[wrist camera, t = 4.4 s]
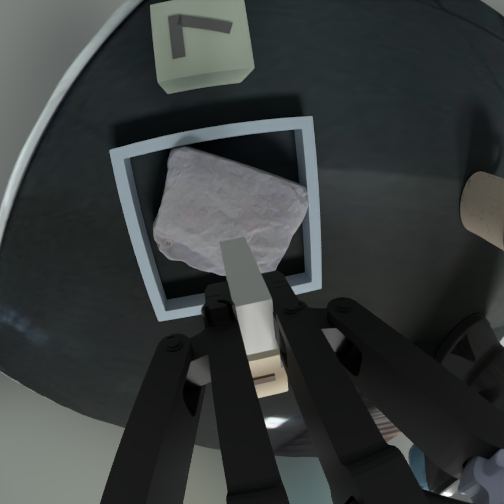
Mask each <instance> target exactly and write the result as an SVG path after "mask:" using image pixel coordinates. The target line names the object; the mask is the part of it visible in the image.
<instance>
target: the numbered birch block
mask: <svg viewBox="0 0 504 504" xmlns="http://www.w3.org/2000/svg"><path fill="white" fill-rule="evenodd" d="M247 358H248V362H249V366H250V369H251V373H252V377H253V381H254V385H255V388H256V392H257V396H258V398H260V397H265V396H269V395H273V394H278V393H282V392H286V391H288V382H287V374H286V371H285V369H284V367H283V368H281V361H280V350H279V346H278V344H277V349H273V350H268V351H264V352H260V353H255V354H250V355H247Z"/></svg>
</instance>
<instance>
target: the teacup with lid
mask: <svg viewBox="0 0 504 504" xmlns="http://www.w3.org/2000/svg"><path fill="white" fill-rule="evenodd" d="M460 217H461V221H462V223H463V225H464V227H465V228H466V229H467V230H469V231H470V232H472V233H474V234H476V235H478V236H479V237H481V238H483V239H485V240H487V241H488V242H490V243H492V244H493V245H495V246H497V247H498V248H500V249H502V250H503V251H504V179H503V178H500V177H497V176H495V175H492V174H489V173H486V172H482V171H479V172H476V173H474V174H473V175H472V176H471V177H470V178H469V179H468V181H467V183H466V185H465V187H464V189H463V192H462V196H461V202H460Z"/></svg>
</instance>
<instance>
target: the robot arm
mask: <svg viewBox="0 0 504 504" xmlns="http://www.w3.org/2000/svg"><path fill="white" fill-rule="evenodd" d="M220 248H221V253H222V258H223V263H224V269H225V274H226V279H227V281H225V282H220V283H214V284H209V285H208V286H207V287H206V289H205V291H204V292H205V304H204V305H203V306H202V309H201V313H202V316H203V320H204V323H205V329H204V330H203V331H202V332H201V333H199V334H198V335H196V336H194V337H191V338H188V337H187V336H185V335H183V334H172V335H169V336H167V337H165V338H164V339H162V340H161V341H160V343H159V344H158V346H157V349H156V351H155V354H154V356H153V358H152V361H151V363H150V366H149V368H148V371H147V373H146V376H145V378H144V381H143V383H142V386H141V388H140V391H139V393H138V396H137V398H136V401H135V404H134V406H133V409H132V412H131V414H130V417H129V420H128V422H127V425H126V428H125V430H124V433H123V436H122V439H121V442H120V444H119V447H118V450H117V453H116V456H115V459H114V462H113V465H112V468H111V471H110V474H109V477H108V480H107V483H106V486H105V489H104V492H103V496H102V499H101V502H100V504H183V500H184V495H185V489H186V484H187V479H188V473H189V467H190V463H191V458H192V453H193V448H194V443H195V438H196V433H197V428H198V423H199V418H200V413H201V408H202V403H203V398H204V393H205V388H206V383H209V382H211V383H212V391H213V399H214V407H215V414H216V421H217V428H218V435H219V442H220V448H221V454H222V460H223V466H224V472H225V478H226V484H227V490H228V493H227V497H226V501H227V504H289V500H288V497H287V494H286V491H285V488H284V486H283V483H282V481H281V477H280V474H279V471H278V467H277V464H276V460H275V457H274V453H273V450H272V446H271V443H270V439H269V436H268V432H267V429H266V425H265V422H264V418H263V414H262V411H261V407H260V403H259V400H258V396H257V392H256V388H255V385H254V381H253V377H252V373H251V369H250V366H249V362H248V358H247V355H250V354H255V353H260V352H264V351H268V350H273V349H277V344H278V346H279V350H280V361H281V368H283V367H284V369H285V371H286V374H287V377H288V379H289V382H290V385H291V387H292V390H293V392H294V395H295V398H296V400H297V403H298V406H299V408H300V411H301V414H302V416H303V419H304V422H305V424H306V427H307V429H308V432H309V435H310V437H311V440H312V442H313V445H314V448H315V450H316V453H317V455H318V458H319V461H320V463H321V466H322V468H323V471H324V473H325V476H326V479H327V481H328V483H329V487H330V490H331V497H332V501H333V504H504V347H503V346H502V345H501V344H500V342H499V341H498V339H497V337H496V335H495V333H494V331H493V329H492V328H491V326H490V323H489V321H488V320H487V319H486V318H485V317H484V316H483V315H482V314H480V313H475V314H472V315H470V316H469V317H467V318H466V319H465V320H463V321H462V322H461V323H460V324H459V325H458V326H457V327H456V328H455V329H454V330H453V331H452V332H451V333H450V334H449V336H448V337H447V338H446V339H445V341H444V342H443V343H442V345H441V346H440V348H439V349H438V351H437V353H436V355H435V357H434V359H433V358H432V357H430V356H429V355H428V354H426V353H425V352H424V351H422V350H421V349H420V348H418V347H417V346H416V345H414V344H413V343H412V342H410V341H409V340H408V339H406V338H405V337H404V336H402V335H401V334H400V333H398V332H397V331H396V330H394V329H393V328H392V327H390V326H389V325H387V324H386V323H385V322H383V321H382V320H381V319H379V318H378V317H377V316H375V315H374V314H373V313H371V312H370V311H368V310H367V309H366V308H364V307H363V306H362V305H360V304H359V303H357V302H356V301H354V300H352V299H350V298H345V297H342V298H336V299H333V300H331V301H330V302H329V303H328V305H327V308H319V309H317V308H309V307H308V306H307V305H306V304H305V303H304V302H303V301H300V300H298V298H297V297H296V295H295V293H294V291H293V290H292V288H291V286H290V285H289V283H288V281H287V279H286V278H285V276H284V274H282V273H281V272H279V271H277V270H275V271H270V272H266V273H260V270H259V268H258V266H257V264H256V261H255V259H254V257H253V254H252V252H251V250H250V248H249V245H248V243H247V241H246V239H245V237H241V238H236V239H230V240H225V241H220ZM353 384H354V385H355V386H356V387H357V388H358V389H359V390H360V391H361V392H362V393H363V394H364V395H365V396H366V397H367V398H368V399H369V400H370V401H371V402H372V403H373V404H374V405H375V406H376V407H377V408H378V409H379V410H380V411H381V412H382V413H383V414H384V415H385V416H386V417H387V418H388V419H389V420H390V421H391V422H392V423H393V424H394V425H395V426H396V427H397V428H398V429H399V430H400V431H401V432H402V433H403V434H404V435H405V436H406V437H408V438H409V439H410V440H411V441H412V442H413V443H414V444H413V445H412V447H411V448H410V450H409V458H408V459H409V465H410V466H409V465H408V463H407V461H406V460H405V457H404V456H403V454H402V453H401V451H400V450H399V449H398V448H397V447H395V446H392V445H388V444H387V443H386V441H385V440H384V438H383V437H382V435H381V433H380V431H379V429H378V428H377V426H376V424H375V422H374V420H373V419H372V417H371V415H370V413H369V411H368V410H367V408H366V406H365V404H364V403H363V401H362V399H361V397H360V395H359V394H358V392H357V390H356V388H355V387H354V385H353Z"/></svg>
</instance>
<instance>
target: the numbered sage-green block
mask: <svg viewBox="0 0 504 504" xmlns="http://www.w3.org/2000/svg"><path fill="white" fill-rule="evenodd" d="M150 13H151V25H152V36H153V46H154V56H155V64H156V73H157V81H158V83H159V85H160V86H161V87H162V88H163V89H164V91H165V92H166V93H167V94H171V93H176V92H181V91H186V90H192V89H198V88H204V87H210V86H217V85H224V84H232V83H241V82H242V81H243V80H244V79H245V78H246V77H247V75H248V74H249V73H250V72H251V71H252V70H253V69H254V61H253V54H252V48H251V41H250V35H249V28H248V22H247V15H246V9H245V3H244V0H172V1H167V2H162V3H157V4H153V5H150Z"/></svg>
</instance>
